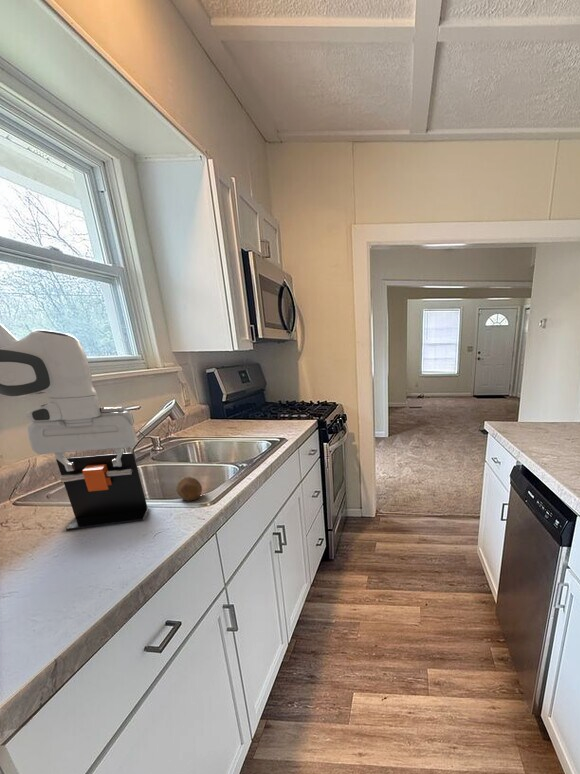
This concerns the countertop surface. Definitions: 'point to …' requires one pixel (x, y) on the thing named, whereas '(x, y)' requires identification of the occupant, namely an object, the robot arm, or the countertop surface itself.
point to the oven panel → (105, 493)
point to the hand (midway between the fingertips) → (95, 468)
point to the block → (96, 477)
